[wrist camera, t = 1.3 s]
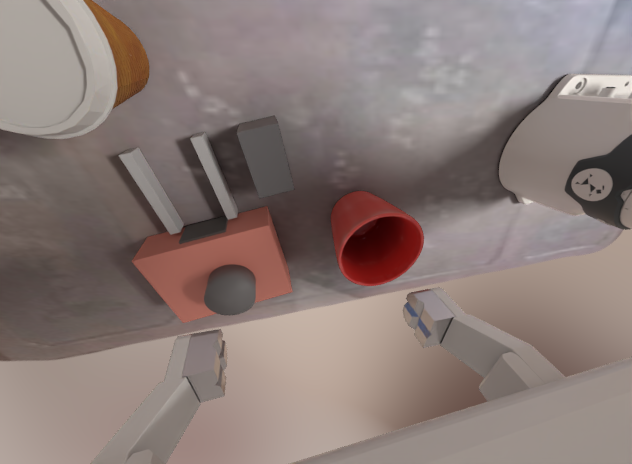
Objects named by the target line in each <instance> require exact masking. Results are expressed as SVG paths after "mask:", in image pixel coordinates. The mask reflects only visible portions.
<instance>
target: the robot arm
mask: <svg viewBox="0 0 632 464" xmlns="http://www.w3.org/2000/svg"><path fill="white" fill-rule="evenodd" d="M499 178H500V181H501V183H502V185H503V186H504V187H505V188H506V189H507V190H509V191H511V192H513V193H515V195H516V197H517V199H518V201H519V202H520V203H523V204H530V203H533V202H536V203H539V204H541V205H544V206H547V207H549V208H552V209H555V210H558V211H560V212H563V213H566V214H569V215H572V216H579V215H584V214H587V215H588V216H590V217H593V218H595V219H597V220H599V221H600V222H602V223H605V224H607V225H612V226H615V227H617V228H620V229H632V75H610V74H569V75H567V76H565V77H564V78H563V79H562V80H561V81H560V82H559V83H558V85H557V86H556V87H555V88H554V90H553V91H552V92H551V94H550V95H549V96H548V98H547V99H546V100H545V101H544V102H543V103H542V104H540V105H539V106H538V107H537V108H536V109H535V110H533V111H532V112H531V113H530V114H529V115H528V116H527V117H526V118H525V119H524V120H523V121H522V122H521V124H520V125H519V126H518V127H517V129H516V130H515V131H514V133H513V134H512V136H511V137H510V139H509V141H508V142H507V144H506V146H505V149H504V151H503V153H502V156H501V160H500V164H499ZM406 299H407V301H408V302H407V303H406V304H405V305H404V308H403V314H404V318H405V321H406V322H407V324H408V325H409V326H410V327H411V328H413V329H414V330H415V333H414V335H415V336H416V338H417V339H418V341H419V342H420V344H421V345H422V347H423V348H425V347H429V346H435V345H439V344H441V346H442V347H443V348H445V349H446V350H447V351H449V352H450V353H451V354H453V355H454V356H455V357H457V358H458V359H459V360H461V361H462V362H464V363H465V364H466V365H468V366H469V367H470V368H472V369H473V370H475V371H476V372H477V373H479V374H480V375H481V376H483V377H484V380H483V381H482V383H481V384H480V385H479V390H480V391H481V393H482V394H483V395H484V397H485V398H486V400H487V401H488V402H485V403H483V404H479V405H476V406H473V407H469V408H466V409H463V410H460V411H456V412H453V413H450V414H447V415H444V416H440V417H437V418H434V419H431V420H428V421H425V422H421V423H418V424H415V425H412V426H408V427H405V428H402V429H399V430H396V431H392V432H389V433H386V434H383V435H380V436H377V437H374V438H370V439H367V440H364V441H360V442H358V443H354V444H351V445H348V446H344V447H341V448H338V449H335V450H332V451H328V452H325V453H322V454H319V455H316V456H313V457H310V458H307V459H303V460H300V461H297V462H293V463H290V464H632V357H629V358H627V359H623V360H620V361H617V362H614V363H610V364H607V365H604V366H601V367H598V368H594V369H591V370H588V371H585V372H581V373H579V374H575V375H572V376H569V377H565V376H564V375H563V374H562V373H561V372H559V371H558V370H557V369H556V368H555V367H554V366H553V365H552V364H551V363H550V362H549V361H548V360H547V359H546V358H545V357H543V356H542V355H541V354H540V353H539V352H538V351H537V350H536V349H535V348H534V347H533V346H532V345H530V344H528V343H526V342H524V341H522V340H520V339H518V338H516V337H514V336H512V335H510V334H508V333H506V332H504V331H502V330H500V329H498V328H496V327H494V326H492V325H490V324H488V323H486V322H484V321H482V320H480V319H478V318H476V317H474V316H472V315H470V314H468V315H466V314H465V312H463V310H462V309H461V308H460V307H459V306H458V305H457V304H456V303H455V302H454V301H453V300H452V299H451V298H450V296H449V295H448V294H447V293H446V292H445V291H444V290H443V289H442V288H440V287H438V288H432V289H426V290H421V291H416V292H411V293H409V294H408V295H407V298H406ZM222 337H223V334H222V331H221V329H219V330H213V331H207V332H201V333H194V334H189V335H183V336H178V337H177V339H176V340H175V343H174V347H173V350H172V354H171V358H170V362H169V365H168V369H167V372H166V376H165V379H164V382H160V383H159V384H158V385H157V386H156V387H155V388H154V389H153V391H152V392H151V393H150V394H149V395H148V397H147V398H146V399H145V400H144V401H143V403H141V405H140V406H139V407H138V408H137V409H136V411H135V412H134V413H133V414H132V415H131V416H130V418H129V419H128V420H127V421H126V422H125V423H124V425H123V426H122V427H121V428H120V429H119V430H118V432H117V433H116V434H115V435H114V436H113V438H112V439H111V440H110V441H109V442H108V443H107V445H106V446H105V447H104V448H103V449H102V450H101V452H100V453H99V454H98V455H97V456H96V457H95V459H94V460H93V461H92V462H91V464H166V463H167V461H168V459H169V457H170V456H171V454H172V452H173V451H174V449H175V447H176V446H177V444H178V442H179V440H180V439H181V437H182V435H183V434H184V432H185V430H186V428H187V426H188V425H189V423H190V421H191V420H192V418H193V416H194V414H195V413H196V411H197V410H198V408H199V406H200V403H201V402H205V401H208V400H212V399H216V398H220V397H223V396H224V395H225V385H226V376H225V373H224V369H225V368H226V366H227V347H226V343H225V341H223V340H222Z"/></svg>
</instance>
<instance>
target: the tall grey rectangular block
mask: <svg viewBox="0 0 632 464" xmlns="http://www.w3.org/2000/svg"><path fill="white" fill-rule="evenodd" d="M237 136H238V139H239V142H240V144H241V147H242V150H243V153H244V156H245V159H246V162H247V164H248V167H249V170H250V173H251V176H252V179H253V181H254V184H255V187H256V190H257V193H258V196H259V198H264V197H268V196H271V195H275V194H279V193H283V192H287V191H291V190H295V189H294V185H293V181H292V177H291V173H290V169H289V165H288V161H287V157H286V153H285V149H284V145H283V141H282V137H281V133H280V129H279V125H278V122H277V120H276V117H275V116H271V117H267V118H262V119H258V120H254V121H250V122H245V123H241V124H239V127H238V130H237Z"/></svg>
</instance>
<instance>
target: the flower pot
mask: <svg viewBox="0 0 632 464" xmlns="http://www.w3.org/2000/svg"><path fill="white" fill-rule="evenodd" d="M331 225H332V233H333V239H334V245H335V251H336V257H337V261H338V265H339V268H340V270H341V272H342V274H343V275H344V276H345V277H346V278H347V279H348V280H350V281H351V282H353V283H355V284H358V285H364V286H376V285H381V284H384V283H387V282H390V281H392V280H394V279H396V278H398V277H399V276H401V275H402V274H403V273H405V272H406V271H407V270H408V269H409V268H410V267H411V266H412V265H413V264H414V263H415V261H416V260H417V258H418V257H419V255H420V253H421V251H422V248H423V243H424V236H423V231H422V228H421V226H420V225H419V223H418V222H417V221H416V220H415V219H414V218H413V217H411V216H410V215H408V214H406V213H405V212H403V211H402V210H400V209H398V208H397V207H395V206H393V205H392V204H390V203H388V202H387V201H385V200H383V199H381V198H379V197H377V196H375V195H373V194H371V193H369V192H366V191H355V192H352V193H349V194H347V195H345V196H343V197H342V198H341V199H340V200H339V201H338V202H337V203H336V204H335V206H334V208H333V210H332V213H331Z"/></svg>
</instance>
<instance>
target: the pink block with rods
mask: <svg viewBox="0 0 632 464" xmlns="http://www.w3.org/2000/svg"><path fill="white" fill-rule="evenodd" d="M190 139H191V142H192V144H193V146H194V148H195V150H196V152H197V155H198V157H199V159H200V161H201V163H202V165H203V167H204V170H205V172H206V174H207V176H208V178H209V180H210V183H211V185H212V187H213V189H214V191H215V193H216V195H217V198H218V200H219V202H220V204H221V206H222V208H223V211H224V213H225V215H226V216H224V217H220V218H216V219H212V220H208V221H204V222H201V223H197V224H193V225H189V226H186V227H184V228H182V227H183V225H184V223H183V221H182V220H181V218H180V216H179V215H178V213H177V211H176V210H175V208H174V206H173V205H172V203H171V201H170V200H169V198H168V196H167V195H166V193H165V191H164V190H163V188H162V186H161V185H160V183H159V181H158V179H157V178H156V176H155V174H154V173H153V171H152V169H151V168H150V166H149V164H148V163H147V161H146V159H145V158H144V156H143V154H142V153H141V151H140V149H139V148H134V149H130V150H126V151H125V152H123V153H121V154H120V155H118V156H119V157H120V159H121V160H122V162H123V163H124V165H125V166H126V168H127V169H128V171H129V172H130V174H131V175H132V177H133V178H134V180H135V182H136V183H137V185H138V186H139V188H140V189H141V191H142V192H143V194H144V195H145V197H146V198H147V200H148V201H149V203H150V204H151V206H152V207H153V209H154V211H155V212H156V214H157V215H158V217H159V218H160V220H161V221H162V223H163V224H164V226H165V227H166V229H167V230H168V232H165V233H161V234H157V235H153V236H149V237H147V239H146V240H145V242H144V243H143V245H142V246H141V248H140V249H139V251H138V252H137V254H136V255H135V257H134V258H133V260H132V263H133V264H134V265H135V266H136V267H137V269H138V270H139V271H140V272H141V273H142V274H143V276H144V277H145V278H146V279H147V280H148V282H149V283H150V284H151V285H152V286H153V288H154V289H155V290H156V291H157V292H158V294H159V295H160V296H161V297H162V298H163V300H164V301H165V302H166V303H167V304H168V306H169V307H170V308H171V309H172V310H173V311H174V313H175V314H176V315H177V316H178V317H179V319H180V320H181V321H182V322H183V323H185V322H189V321H192V320H196V319H199V318H203V317H206V316H210V315H213V314H221V315H237V314H240V313H243V312H245V311H247V310H249V309H250V308H251V307H252V306H253V304H254V303H255V302H259V301H262V300H266V299H270V298H273V297H277V296H280V295H284V294H287V293H291V292H292V287H291V281H290V275H289V269H288V266H287V263H286V260H285V257H284V254H283V251H282V248H281V245H280V242H279V239H278V237H277V234H276V231H275V228H274V225H273V222H272V219H271V216H270V213H269V210H268V207H267V206H265V207H262V208H258V209H254V210H250V211H246V212H242V213H238V208H237V206H236V204H235V201H234V199H233V197H232V194H231V192H230V190H229V187H228V185H227V182H226V180H225V178H224V175H223V173H222V171H221V168H220V166H219V163H218V161H217V159H216V156H215V154H214V152H213V149H212V147H211V145H210V142H209V140H208V137H207V135H206V133H205V132H203V133H198V134H194V135H193V136H192V137H191V138H190Z"/></svg>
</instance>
